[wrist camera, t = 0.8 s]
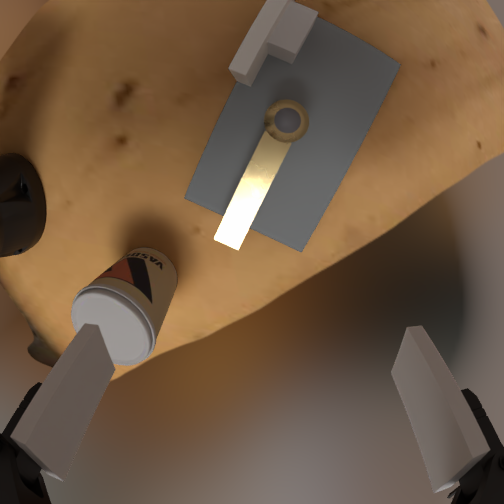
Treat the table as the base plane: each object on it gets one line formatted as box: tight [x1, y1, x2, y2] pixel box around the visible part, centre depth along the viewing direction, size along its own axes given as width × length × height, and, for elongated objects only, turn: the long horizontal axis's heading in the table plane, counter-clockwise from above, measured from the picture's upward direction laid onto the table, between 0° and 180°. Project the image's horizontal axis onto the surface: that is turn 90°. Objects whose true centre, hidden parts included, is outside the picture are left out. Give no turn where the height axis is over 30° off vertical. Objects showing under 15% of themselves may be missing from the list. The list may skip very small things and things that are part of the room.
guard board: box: [184, 0, 401, 252], centre depth 25 cm, size 14×24×8 cm, turn 155°
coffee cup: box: [71, 248, 177, 365], centre depth 31 cm, size 9×9×12 cm
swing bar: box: [214, 99, 309, 250], centre depth 27 cm, size 14×4×6 cm, turn 155°
